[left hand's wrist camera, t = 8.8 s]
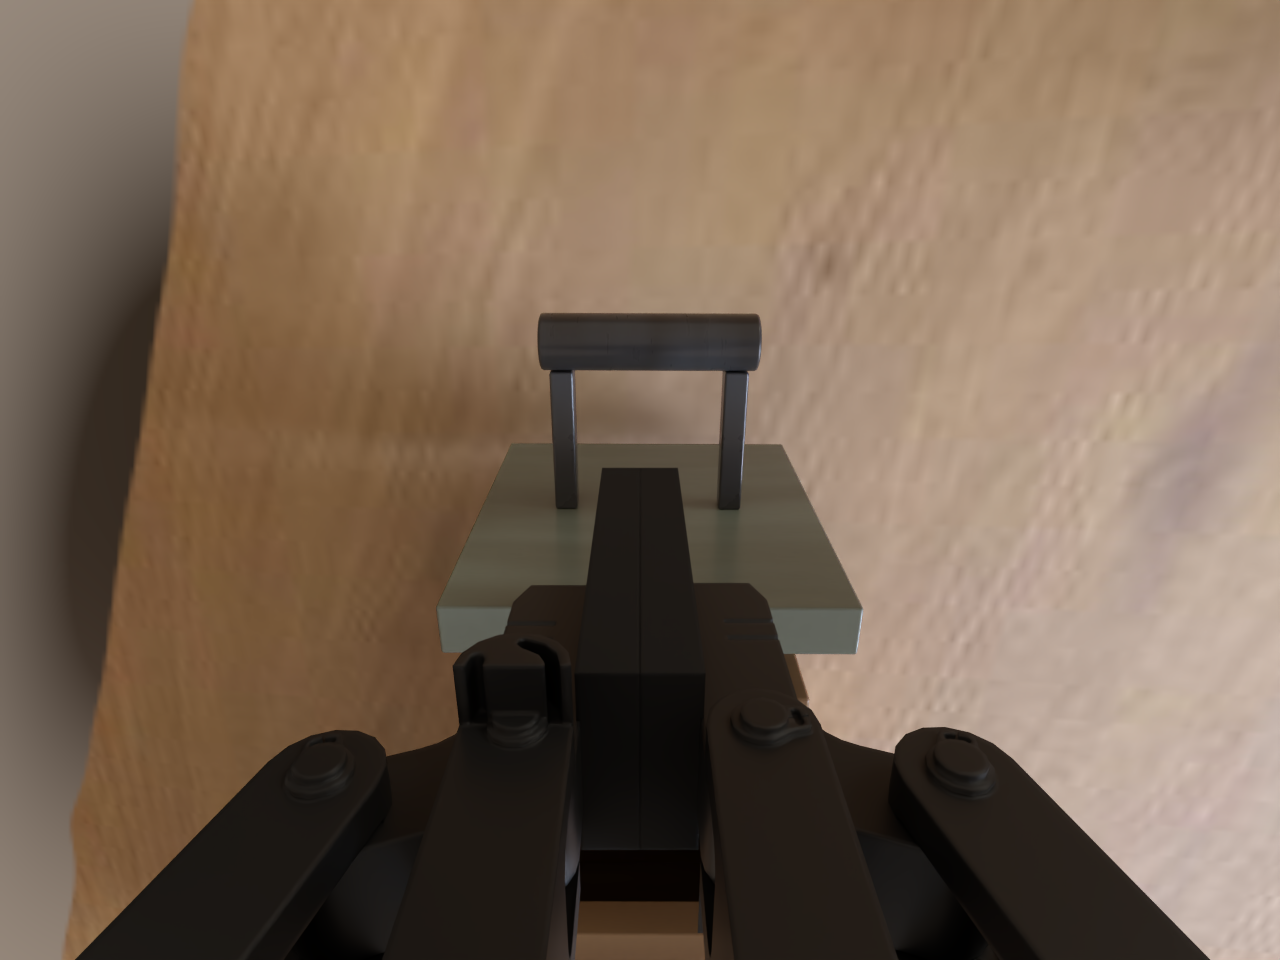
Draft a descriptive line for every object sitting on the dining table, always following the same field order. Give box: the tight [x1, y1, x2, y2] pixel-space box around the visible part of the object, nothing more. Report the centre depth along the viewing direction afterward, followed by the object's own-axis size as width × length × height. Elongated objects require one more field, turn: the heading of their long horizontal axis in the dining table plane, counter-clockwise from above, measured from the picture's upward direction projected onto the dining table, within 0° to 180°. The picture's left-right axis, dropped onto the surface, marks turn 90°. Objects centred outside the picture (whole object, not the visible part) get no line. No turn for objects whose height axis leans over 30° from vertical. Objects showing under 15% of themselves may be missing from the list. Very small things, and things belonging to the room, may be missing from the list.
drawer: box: [436, 313, 863, 902], centre depth 23 cm, size 24×9×10 cm, turn 0°
